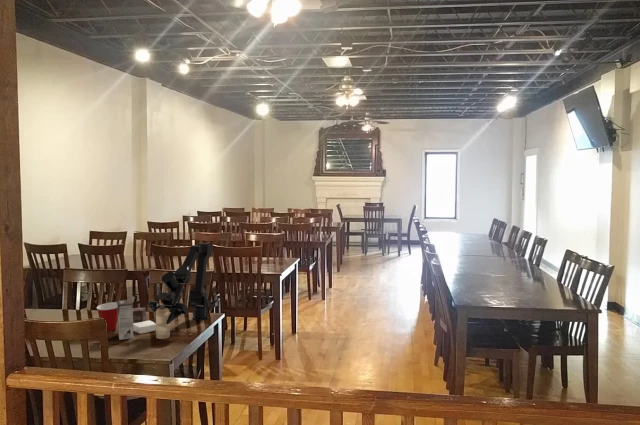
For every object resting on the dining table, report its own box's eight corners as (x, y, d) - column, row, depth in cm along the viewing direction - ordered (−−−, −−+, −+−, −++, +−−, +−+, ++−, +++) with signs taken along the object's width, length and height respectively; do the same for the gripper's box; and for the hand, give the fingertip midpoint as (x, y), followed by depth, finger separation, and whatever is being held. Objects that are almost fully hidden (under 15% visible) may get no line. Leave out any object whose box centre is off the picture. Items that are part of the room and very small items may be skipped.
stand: (149, 326, 260) (149, 320, 260) (158, 330, 254) (157, 323, 254) (131, 329, 254) (131, 323, 254) (139, 333, 248) (139, 327, 248)
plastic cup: (92, 331, 252) (91, 306, 252) (108, 325, 263) (107, 301, 262) (110, 333, 249) (109, 308, 248) (126, 327, 259) (125, 303, 258)
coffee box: (117, 334, 247) (116, 300, 246) (132, 333, 249) (131, 299, 248) (118, 340, 238) (117, 304, 237) (133, 338, 241) (132, 303, 240)
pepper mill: (166, 334, 246) (165, 302, 246) (172, 337, 242) (171, 305, 241) (154, 337, 242) (153, 305, 242) (159, 339, 238) (159, 307, 237)
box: (146, 321, 270) (146, 307, 269) (142, 324, 264) (142, 310, 263) (134, 321, 269) (133, 307, 269) (130, 325, 263) (130, 310, 263)
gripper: (149, 283, 247) (135, 312, 238) (184, 285, 242) (171, 315, 232) (159, 297, 255) (146, 325, 246) (193, 299, 250) (181, 328, 240)
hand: (160, 323), depth 241 cm, fingers closed on pepper mill, 6 cm apart
